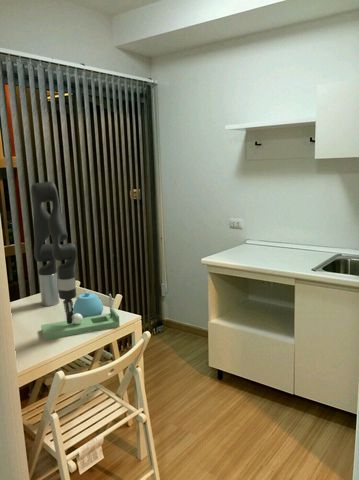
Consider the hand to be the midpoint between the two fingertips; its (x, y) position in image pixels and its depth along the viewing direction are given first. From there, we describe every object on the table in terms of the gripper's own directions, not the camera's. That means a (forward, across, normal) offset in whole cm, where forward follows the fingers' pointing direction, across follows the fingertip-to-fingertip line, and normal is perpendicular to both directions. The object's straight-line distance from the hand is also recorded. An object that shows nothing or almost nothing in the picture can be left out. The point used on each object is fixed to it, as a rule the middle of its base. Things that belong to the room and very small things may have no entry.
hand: (69, 323), depth 188 cm
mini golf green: (+3, 0, +5) cm, 6 cm away
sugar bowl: (+4, -17, +12) cm, 21 cm away
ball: (-2, 0, +4) cm, 4 cm away
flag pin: (+1, +1, +20) cm, 20 cm away
